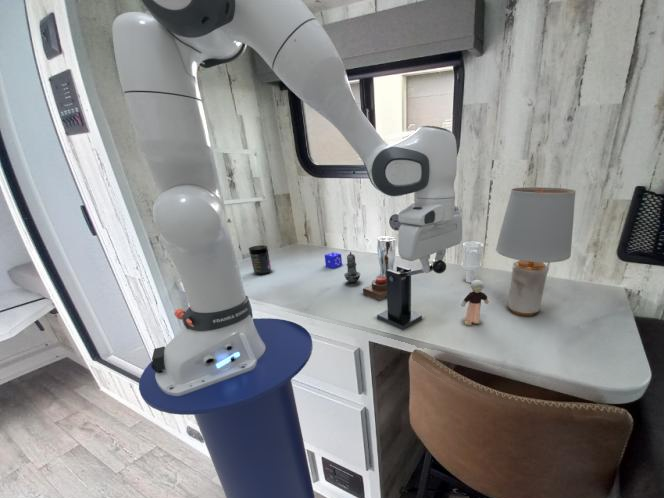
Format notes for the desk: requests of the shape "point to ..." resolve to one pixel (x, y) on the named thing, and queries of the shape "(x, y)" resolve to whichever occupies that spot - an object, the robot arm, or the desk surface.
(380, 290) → the control block
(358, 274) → the grey tall figure
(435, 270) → the lever
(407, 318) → the bracket
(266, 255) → the supplement container
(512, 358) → the desk surface
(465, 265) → the clear tall cylinder
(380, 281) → the button
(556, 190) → the lamp
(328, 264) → the die
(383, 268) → the beer glass
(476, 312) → the grandmother figurine
